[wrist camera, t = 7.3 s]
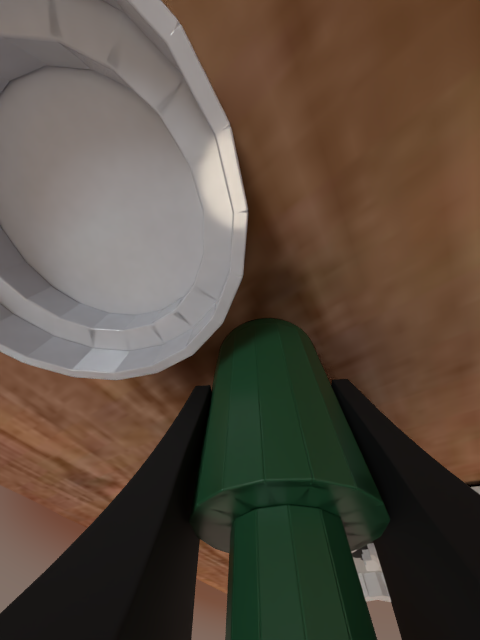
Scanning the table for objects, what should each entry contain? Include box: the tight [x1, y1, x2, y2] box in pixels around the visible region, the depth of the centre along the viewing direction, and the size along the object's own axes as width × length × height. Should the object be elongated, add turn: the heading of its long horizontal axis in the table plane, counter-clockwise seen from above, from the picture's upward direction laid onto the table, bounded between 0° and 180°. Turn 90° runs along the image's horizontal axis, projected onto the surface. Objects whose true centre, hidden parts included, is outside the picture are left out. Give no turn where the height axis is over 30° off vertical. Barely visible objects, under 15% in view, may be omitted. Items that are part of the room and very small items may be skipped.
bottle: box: [189, 318, 390, 640], centre depth 8 cm, size 5×5×10 cm
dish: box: [0, 0, 248, 380], centre depth 7 cm, size 11×11×3 cm
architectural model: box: [351, 486, 480, 602], centre depth 24 cm, size 35×29×2 cm
